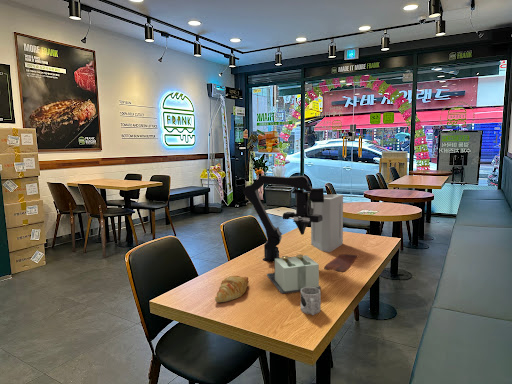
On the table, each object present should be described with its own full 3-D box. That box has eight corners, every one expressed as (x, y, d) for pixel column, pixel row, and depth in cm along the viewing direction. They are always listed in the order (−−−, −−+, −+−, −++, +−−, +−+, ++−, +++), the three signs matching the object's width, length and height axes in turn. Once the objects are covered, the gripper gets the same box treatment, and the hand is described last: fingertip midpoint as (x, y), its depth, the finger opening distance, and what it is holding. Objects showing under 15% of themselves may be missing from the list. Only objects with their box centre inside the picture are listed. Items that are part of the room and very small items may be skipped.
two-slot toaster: (274, 279, 140) (274, 258, 139) (306, 276, 143) (306, 255, 142) (284, 291, 128) (283, 268, 127) (318, 287, 131) (318, 264, 130)
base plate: (266, 275, 148) (266, 250, 146) (301, 271, 151) (301, 247, 150) (281, 293, 128) (280, 265, 127) (320, 288, 132) (320, 261, 131)
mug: (299, 305, 119) (299, 287, 118) (319, 305, 119) (319, 286, 118) (302, 319, 109) (302, 299, 108) (323, 319, 109) (323, 299, 108)
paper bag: (319, 240, 202) (318, 193, 199) (343, 243, 194) (343, 194, 191) (304, 248, 187) (304, 197, 183) (330, 252, 178) (330, 199, 175)
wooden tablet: (344, 274, 149) (344, 270, 149) (322, 270, 154) (322, 266, 154) (360, 257, 171) (360, 253, 171) (341, 254, 176) (341, 251, 176)
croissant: (223, 316, 120) (231, 298, 117) (202, 298, 123) (209, 281, 120) (252, 292, 138) (260, 276, 135) (233, 277, 142) (240, 262, 139)
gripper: (327, 201, 164) (327, 233, 166) (292, 199, 174) (293, 229, 176) (317, 204, 155) (317, 238, 157) (281, 202, 165) (282, 233, 167)
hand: (302, 234), depth 164 cm, fingers closed
